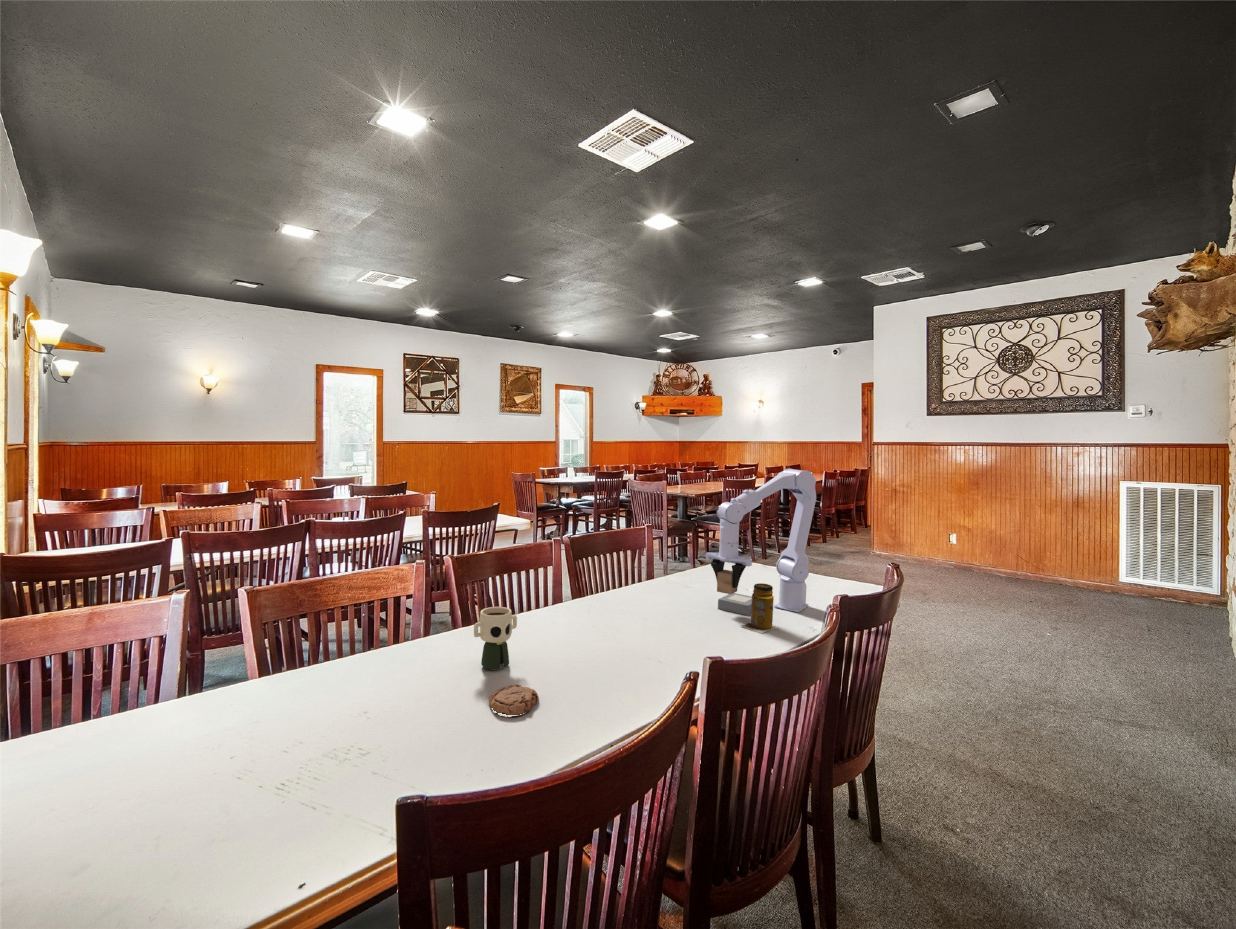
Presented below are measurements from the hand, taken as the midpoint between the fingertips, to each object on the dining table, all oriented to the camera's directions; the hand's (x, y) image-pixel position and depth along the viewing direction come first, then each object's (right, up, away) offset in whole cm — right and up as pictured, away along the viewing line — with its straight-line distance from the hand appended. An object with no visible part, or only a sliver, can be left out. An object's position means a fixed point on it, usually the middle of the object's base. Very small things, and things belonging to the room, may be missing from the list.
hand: (727, 585), depth 180 cm
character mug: (-62, -10, -45) cm, 77 cm away
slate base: (+5, -8, +5) cm, 11 cm away
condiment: (+7, -10, -12) cm, 17 cm away
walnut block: (0, -2, 0) cm, 2 cm away
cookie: (-54, -11, -63) cm, 84 cm away
